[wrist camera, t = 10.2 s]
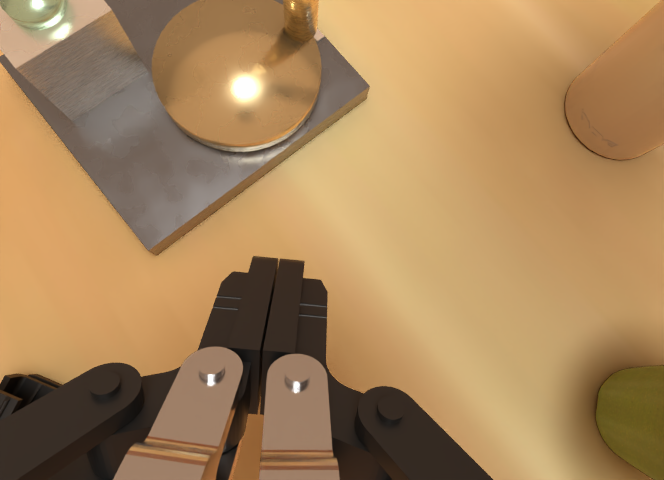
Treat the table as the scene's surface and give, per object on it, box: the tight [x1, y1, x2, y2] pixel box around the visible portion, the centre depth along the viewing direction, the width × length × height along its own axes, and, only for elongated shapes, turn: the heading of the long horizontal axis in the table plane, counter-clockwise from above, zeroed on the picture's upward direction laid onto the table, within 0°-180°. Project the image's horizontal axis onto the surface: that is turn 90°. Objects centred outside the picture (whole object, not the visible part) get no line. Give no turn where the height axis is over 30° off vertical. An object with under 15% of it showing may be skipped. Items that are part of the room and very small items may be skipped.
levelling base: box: [0, 0, 370, 255], centre depth 33 cm, size 22×20×10 cm
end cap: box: [0, 374, 62, 421], centre depth 28 cm, size 10×7×7 cm
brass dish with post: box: [152, 0, 322, 152], centre depth 31 cm, size 13×13×10 cm
